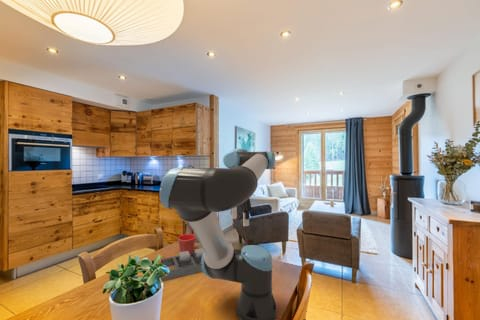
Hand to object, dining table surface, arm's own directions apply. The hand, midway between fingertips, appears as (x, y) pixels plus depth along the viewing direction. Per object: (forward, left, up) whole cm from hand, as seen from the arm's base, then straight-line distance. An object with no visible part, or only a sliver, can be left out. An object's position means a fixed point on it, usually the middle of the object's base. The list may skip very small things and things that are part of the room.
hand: (239, 222), depth 105 cm
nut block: (+19, +24, -27) cm, 40 cm away
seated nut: (+19, +15, -27) cm, 36 cm away
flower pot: (+38, +18, -27) cm, 50 cm away
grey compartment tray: (+19, +24, -27) cm, 40 cm away
